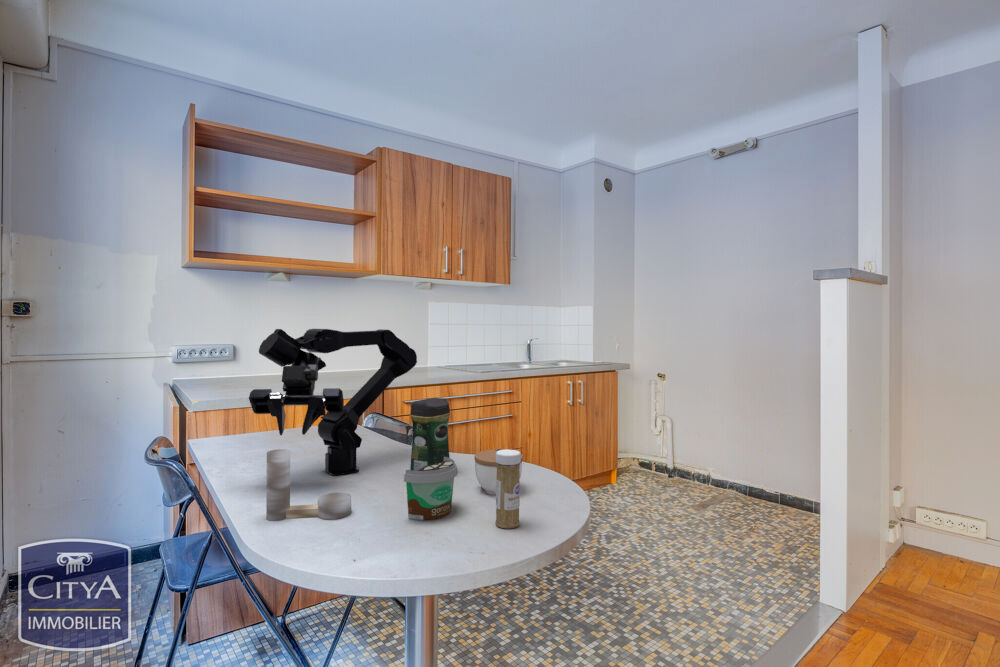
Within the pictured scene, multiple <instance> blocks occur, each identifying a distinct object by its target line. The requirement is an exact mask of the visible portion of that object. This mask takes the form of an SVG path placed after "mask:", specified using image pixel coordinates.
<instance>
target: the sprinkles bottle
mask: <svg viewBox="0 0 1000 667" xmlns="http://www.w3.org/2000/svg"><path fill="white" fill-rule="evenodd" d="M521 455H522V453H521V452H520V451H519V450H517V449H501V450H499V451H497V452H496V465H497V477H496V494H495V508H496V509H495V510H496V511H495V515H496V517H495V521H494V522H495V526H497V527H499V528H502V529H506V530H507V529H514V528H517V527H518V526H519V525H520V504H521V502H520V500H521V496H520V494H521V489H520V488H521V485H520V479H521V477H519V476H520V475H519V474H520V473H519V472H520V471H519V470H520V466H519V465H520V462H521ZM519 478H520V479H519Z"/></svg>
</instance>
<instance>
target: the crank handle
mask: <svg viewBox="0 0 1000 667" xmlns="http://www.w3.org/2000/svg"><path fill="white" fill-rule="evenodd" d="M265 502H266V518H265V519H266V520H267V521H272V522H275V521H282V520H286V519H302V518H320V519H321V520H339V519H344V518H347V517H348V516H350V515H351V514H352V495H351V494H350V493H347V492H331V493H330V492H329V493H325V494H322V495H320V496H319V497H318V498H317V504H315V503H314V504H299V505H297V504H295V505H291V450H290V449H283V448H282V449H281V448H279V449H272V450H268V451H267V452H266V501H265Z"/></svg>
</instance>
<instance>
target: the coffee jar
mask: <svg viewBox="0 0 1000 667" xmlns="http://www.w3.org/2000/svg"><path fill="white" fill-rule="evenodd" d="M409 415H410V416H409V417H410V419H411V423H412V424H411V425H412V442H411V443H412V444H411V454H410V455H411V456H410V469H409V470H412V471H417V470H419V469H421V468H423V467H425V466H427V465H434V464H438V463H440V462H443V461H444V457H448V458H450V445H449V420H450V415H451V411H450V403H449V401H448V400H447V399H446V398H441V397H430V398H425V399H421V400H415V401H413V402H412V403H411V404H410V414H409Z"/></svg>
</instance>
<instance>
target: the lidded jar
mask: <svg viewBox="0 0 1000 667" xmlns="http://www.w3.org/2000/svg"><path fill="white" fill-rule="evenodd" d="M499 450H502V447H496V449H488V450H482V451H478V452H477V453H475V454H474V470H475V477H476V480H477V483H478V484H479V485H480V486H481V487H482V488H483V490H484V492H485V491H486V492H485V493H487V492H488V494H490V493H491V494H490V495H496V477H497V465H496V452H497V451H499ZM523 461H524V456H523V455H522V454H521V462H520V465H519V466H520V470H519V471H520V472H519V473H520V474H519V475H520V476H519V477H520V478H519V479H521V477H522V476H521V475H522V474H523V473H522V472H523Z"/></svg>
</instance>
